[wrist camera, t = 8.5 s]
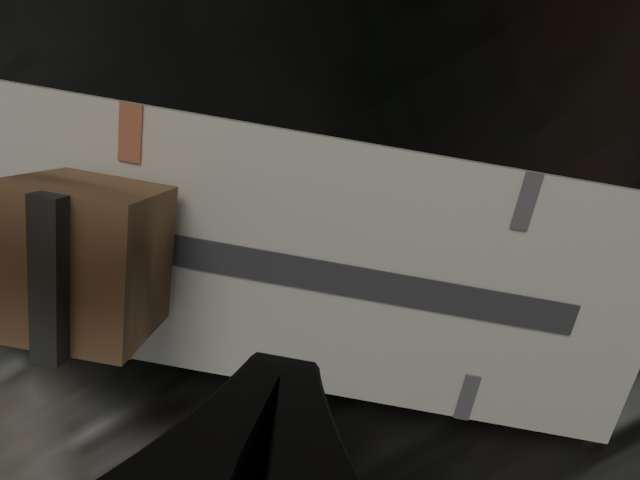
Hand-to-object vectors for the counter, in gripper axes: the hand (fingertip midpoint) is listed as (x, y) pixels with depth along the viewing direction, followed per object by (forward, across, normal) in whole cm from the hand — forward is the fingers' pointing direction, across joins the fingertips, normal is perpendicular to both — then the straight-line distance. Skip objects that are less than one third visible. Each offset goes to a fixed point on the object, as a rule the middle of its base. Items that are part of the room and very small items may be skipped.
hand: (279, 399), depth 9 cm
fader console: (+9, +1, 0) cm, 9 cm away
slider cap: (+7, +7, 0) cm, 10 cm away
